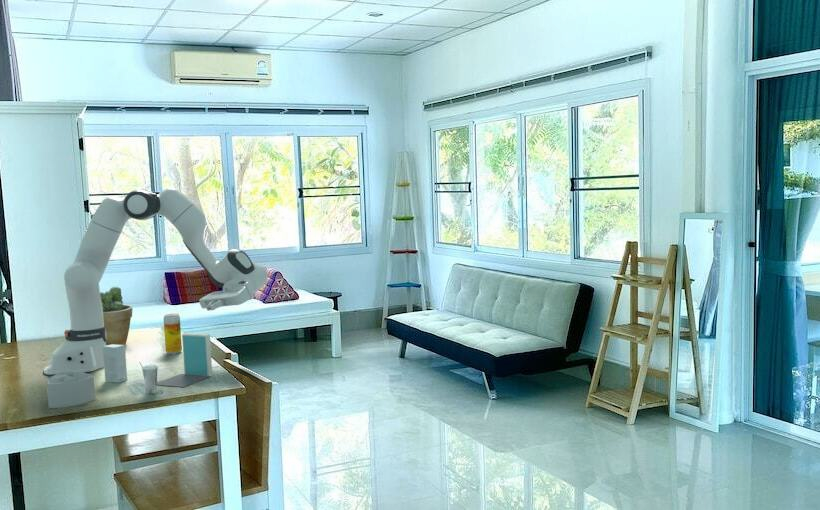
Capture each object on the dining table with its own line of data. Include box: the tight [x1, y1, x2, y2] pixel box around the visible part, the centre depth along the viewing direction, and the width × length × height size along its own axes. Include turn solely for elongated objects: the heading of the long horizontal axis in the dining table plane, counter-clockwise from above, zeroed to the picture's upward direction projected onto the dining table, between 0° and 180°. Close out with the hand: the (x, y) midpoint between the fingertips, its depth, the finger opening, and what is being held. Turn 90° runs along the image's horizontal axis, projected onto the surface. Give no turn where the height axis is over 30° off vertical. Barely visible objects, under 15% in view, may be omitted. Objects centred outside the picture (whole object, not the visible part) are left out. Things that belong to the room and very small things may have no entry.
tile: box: [181, 332, 213, 377], centre depth 253 cm, size 2×10×14 cm, turn 68°
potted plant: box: [100, 286, 133, 346], centre depth 308 cm, size 18×19×25 cm
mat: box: [157, 373, 211, 388], centre depth 246 cm, size 14×12×1 cm
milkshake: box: [139, 361, 158, 395], centre depth 232 cm, size 4×5×10 cm
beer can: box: [163, 313, 183, 355], centre depth 290 cm, size 6×6×15 cm
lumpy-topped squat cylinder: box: [46, 371, 96, 409], centre depth 226 cm, size 10×13×9 cm
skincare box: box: [103, 344, 128, 384], centre depth 249 cm, size 6×4×12 cm
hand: (209, 308), depth 262 cm, fingers closed
